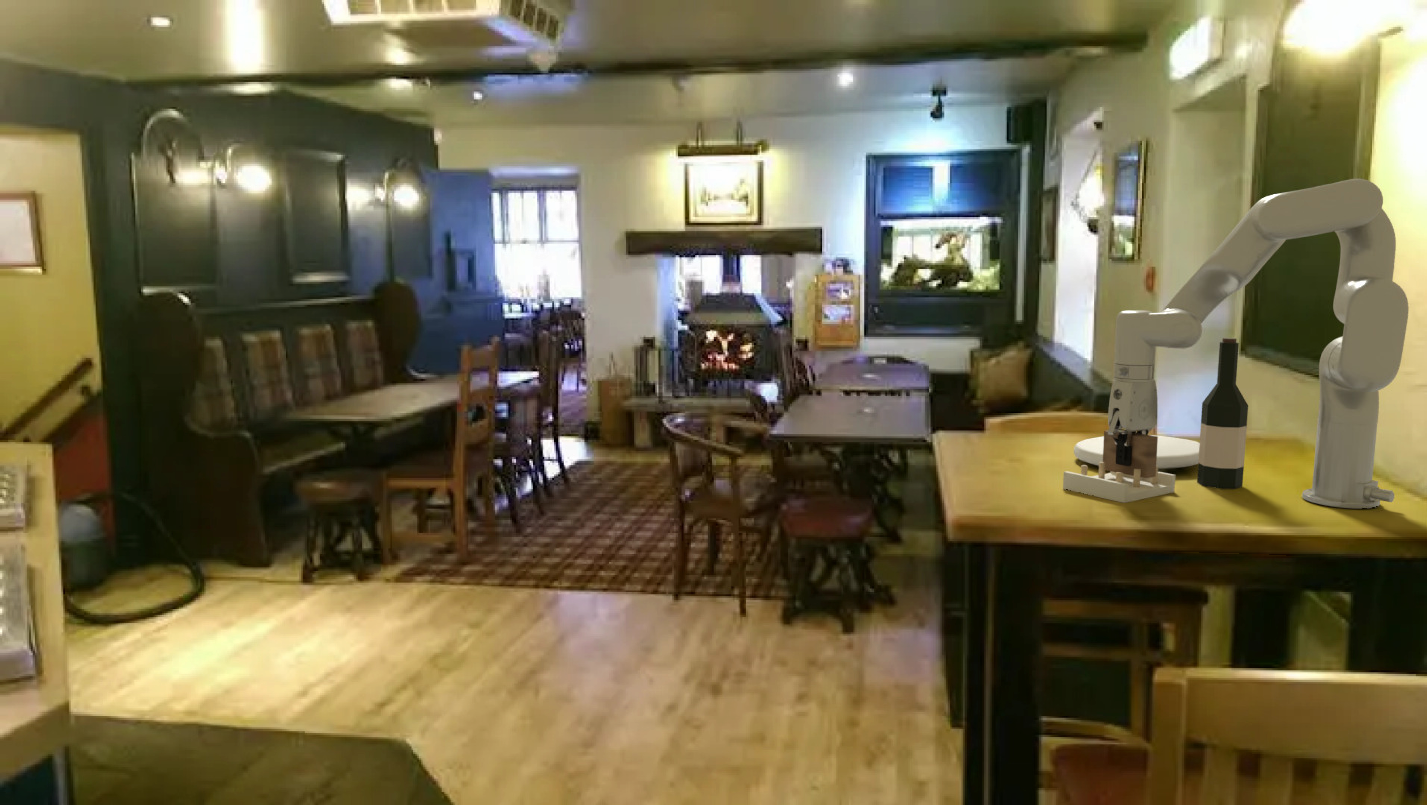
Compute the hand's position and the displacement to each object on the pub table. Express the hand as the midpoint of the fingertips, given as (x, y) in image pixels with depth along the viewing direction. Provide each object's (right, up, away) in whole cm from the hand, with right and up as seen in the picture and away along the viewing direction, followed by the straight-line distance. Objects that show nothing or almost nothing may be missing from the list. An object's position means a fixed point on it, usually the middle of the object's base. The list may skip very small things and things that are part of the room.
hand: (1129, 463), depth 202 cm
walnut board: (0, -2, 0) cm, 2 cm away
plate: (+13, -2, +26) cm, 29 cm away
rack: (-3, -5, -1) cm, 6 cm away
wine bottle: (+20, -5, +4) cm, 21 cm away
